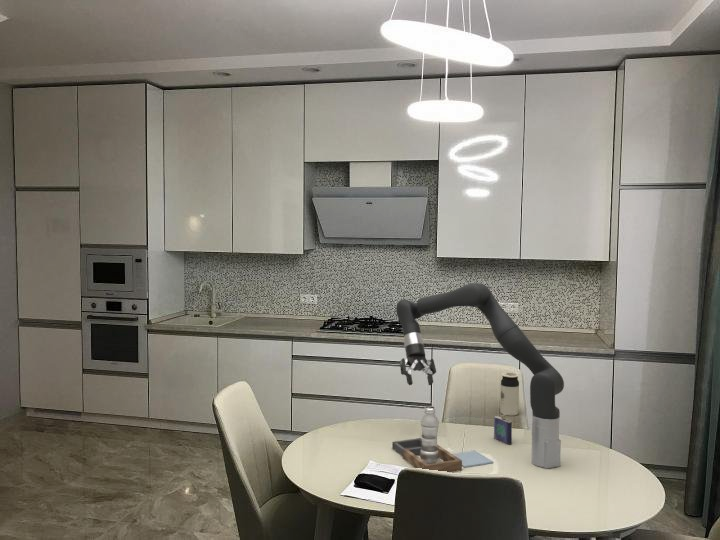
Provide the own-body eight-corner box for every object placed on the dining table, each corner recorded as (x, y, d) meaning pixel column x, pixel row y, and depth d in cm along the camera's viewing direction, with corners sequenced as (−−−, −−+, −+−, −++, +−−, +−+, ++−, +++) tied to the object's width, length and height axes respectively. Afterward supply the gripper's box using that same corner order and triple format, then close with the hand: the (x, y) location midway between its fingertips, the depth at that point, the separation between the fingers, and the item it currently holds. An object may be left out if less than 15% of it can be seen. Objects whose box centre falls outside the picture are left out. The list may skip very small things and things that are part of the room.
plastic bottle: (426, 457, 223) (426, 403, 221) (442, 462, 218) (442, 407, 217) (416, 462, 218) (416, 407, 216) (432, 467, 213) (432, 411, 212)
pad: (493, 463, 218) (493, 461, 218) (464, 467, 213) (464, 466, 213) (474, 451, 229) (474, 450, 229) (446, 456, 224) (446, 454, 224)
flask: (492, 438, 244) (492, 412, 244) (498, 437, 246) (498, 411, 245) (508, 445, 236) (508, 418, 235) (513, 444, 237) (514, 417, 237)
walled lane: (461, 470, 211) (461, 460, 211) (426, 476, 206) (426, 466, 205) (436, 453, 227) (436, 444, 227) (402, 458, 222) (402, 449, 222)
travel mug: (516, 411, 282) (517, 372, 280) (519, 416, 274) (520, 376, 273) (499, 410, 282) (500, 372, 281) (501, 415, 274) (502, 376, 273)
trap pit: (432, 452, 228) (432, 446, 227) (404, 457, 223) (404, 450, 223) (420, 444, 237) (420, 437, 237) (392, 448, 232) (392, 441, 232)
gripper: (401, 341, 240) (407, 381, 232) (434, 342, 245) (441, 381, 237) (394, 349, 246) (400, 388, 238) (426, 350, 251) (433, 388, 243)
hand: (420, 384), depth 237 cm, fingers open, 8 cm apart
